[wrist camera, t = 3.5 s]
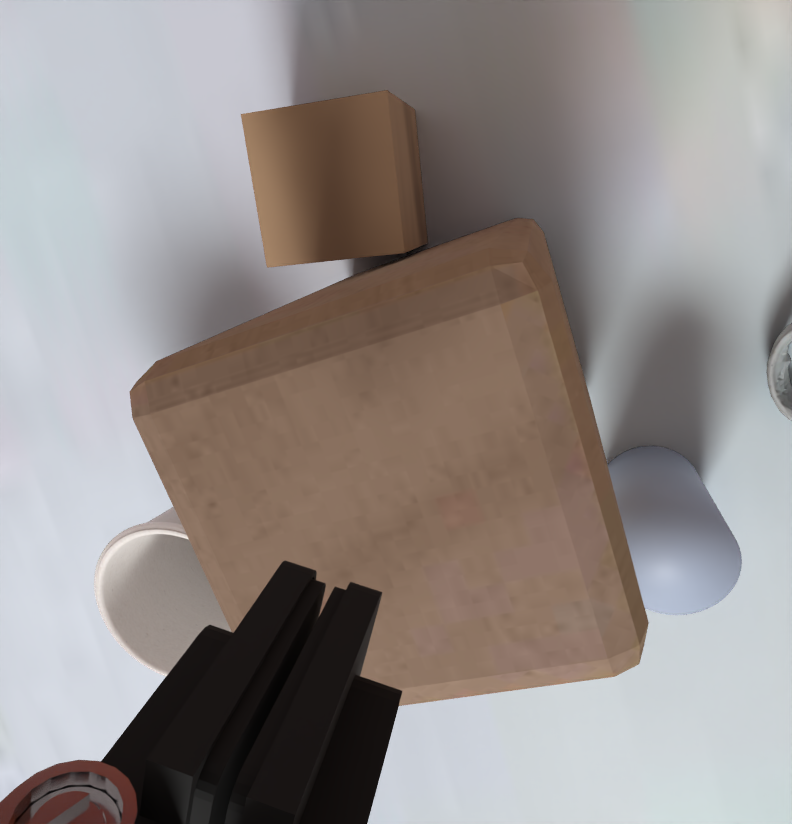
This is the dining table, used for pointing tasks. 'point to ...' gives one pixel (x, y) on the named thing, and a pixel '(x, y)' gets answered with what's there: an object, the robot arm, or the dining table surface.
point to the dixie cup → (155, 592)
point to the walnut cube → (336, 179)
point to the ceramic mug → (781, 373)
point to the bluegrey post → (673, 532)
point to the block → (412, 468)
